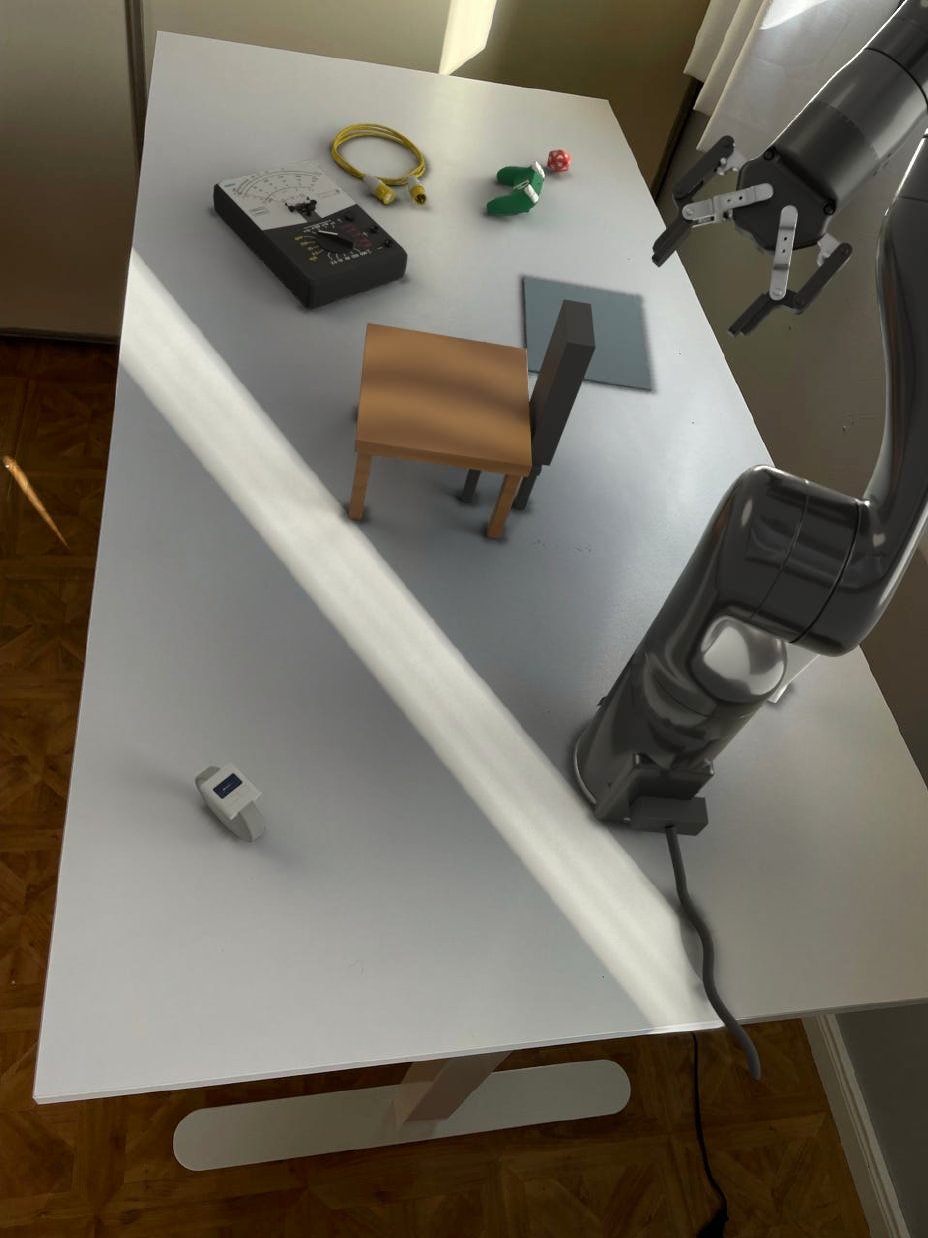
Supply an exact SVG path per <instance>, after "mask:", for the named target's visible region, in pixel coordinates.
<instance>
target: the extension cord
mask: <svg viewBox="0 0 928 1238" xmlns="http://www.w3.org/2000/svg"><path fill="white" fill-rule="evenodd" d="M357 131H368V132H358V133H354V132H357ZM369 131H373V132H369ZM374 131H375V132H374ZM377 132H378V133H377ZM351 133H353V134H351ZM382 133H383V134H382ZM349 134H350V135H349ZM365 136H372V137H373V136H375V137H378V138H379V137H380V138H384V139H387V140H390V141H394V142H395V143H398V144H400V145H402V146H404V147H406V148H407V149H409V150H410V151H411V152H412V153H414V155H415V156H416V157H417V159H418V160H419V165H418V167H416V168H415V169H413V170H411V171H410V172H409V173H407V174H405V175H404V176H402V177H397V178H389V177H388V178H387V177H381V176H376V175H375V176H374V175H371V174H369V173H363V172H361V171H360V170H358V169H357V168H356V167H354V166H353V165H351V164H350V163H349V161H346V159H344V158H343V157H342V156H341V155H340V154H339V153H338V151H337V148H338V147H339V146H340V145H341V144H342V143H344V142H346V141H347V140H350V139H353V138H357V137H365ZM331 156H332V158H333V160H334V161H335V162H336V163H337V164H338V165H339V166H340V167H341V168H342V169H344V170H345V171H346V172H347V173H348V174H350V175H351V176H353V177H356V178H359V179H362V183H363V184H364V186H365V187H366V188H367V189H368V191H369V192H370V193H371V195H373V196H374V197H376V198H377V199H378V200H379V201H381V202H382V203H383V204H384V205H388V204H390V203H391V202H394V199H395V197H396V195H395V191H394V190H392V189H391V188H390V187H389V186H402V185H405V184H407V192H408V194H409V195H410V197H411V198H412V199H413V202H414V203H415V204H416V205H418V206H421V205H425V203H426V201H427V195H426V193H425V187H424V184H423V183H422V181H420V180H419V179H418V178H420V177H422V175H423V174H424V172H425V170H426V162H425V160H424V157H423V154H422V152H421V150H420V149H419V148H418V147H417V146H416V145H415V144H414V143H413V142H412V141H411V140H410V139H409V138H407V136H405V135H404V134H402V133H400V132H399V131H397V130H394V129H392V128H391V127H387V126H385V125H381V124H378V123H366V122H365V123H357V124H352V125H349V126H347V127H345V128H343V129H342V130H341V131H340V132H338V133H337V135H336V136H335V138H334V140H333V143H332V148H331Z"/></svg>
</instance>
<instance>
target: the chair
mask: <svg viewBox="0 0 928 1238" xmlns="http://www.w3.org/2000/svg"><path fill="white" fill-rule="evenodd" d="M595 348H596V345H595V335H594V326H593V316H592V306H591V304H589V303H583V302H578V301H572V300H566V299H564V300H563V303H562V306H561V309H560V312H559V315H558V318H557V321H556V324H555V327H554V330H553V333H552V336H551V339H550V342H549V345H548V348H547V351H546V354H545V357H544V360H543V363H542V366H541V369H540V371H539V372H538V375H537V378H536V381H535V384H534V387H533V390H532V393H531V396H530V397H529V411H530V435H531V459H532V467H531V469H530V472H529V475H528V477H522V478H521V480H520V483H519V486H518V489H517V492H516V494H515V497H514V500H513V502H514V503H513V504H514V509H515V510H522V511H523V510H524V511H525V509H526V507H527V504H528V501H529V499H530V497H531V493H532V490H533V489H534V485H535V483H536V480H537V478H538V477H540V475H541V472H542V470H543V466H547V467H550V466H551V464H552V462H553V459H554V456H555V453H556V452H557V449H558V447H559V444H560V442H561V439H562V435H563V433H564V431H565V428H566V426H567V422H568V420H569V418H570V415H571V413H572V409H573V407H574V405H575V402H576V399H577V397H578V394H579V391H580V389H581V386H582V384H583V381H584V380H583V379H584V376H585V374H586V371H587V369H588V366H589V363H590V361H591V358H592V356H593V353H594V350H595ZM466 473H467V474H466V477H465V481H464V484H463V486H462V491H461V502H465V503H473V499H474V496H475V492H476V489H477V486H478V483H479V479H480V476H481V473H482V471H480V470H473V469H467V472H466Z"/></svg>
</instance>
